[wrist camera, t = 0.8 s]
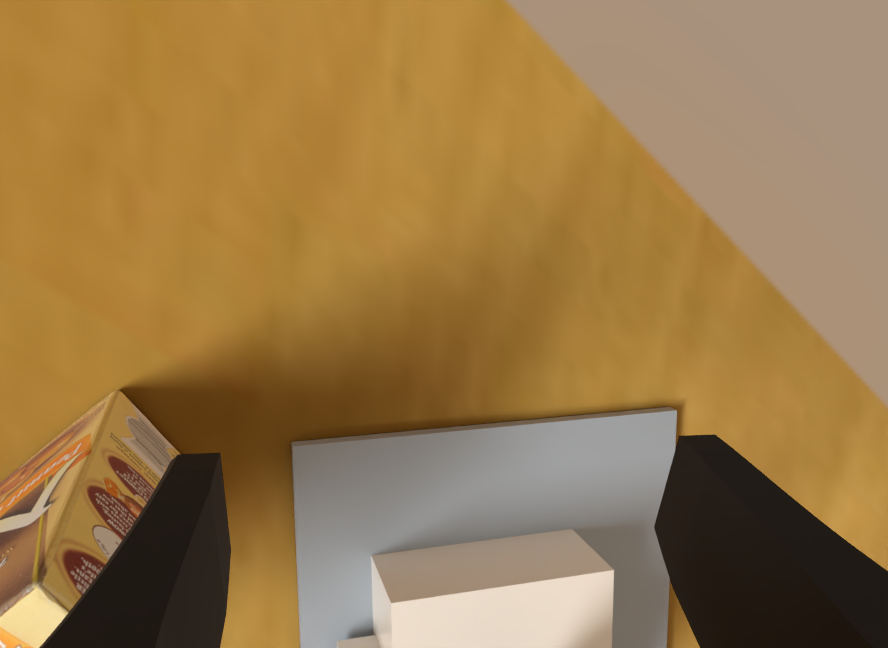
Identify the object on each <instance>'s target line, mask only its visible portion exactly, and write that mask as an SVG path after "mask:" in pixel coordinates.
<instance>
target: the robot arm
mask: <svg viewBox="0 0 888 648" xmlns="http://www.w3.org/2000/svg"><path fill="white" fill-rule="evenodd" d="M654 529H655V532H656V536H657V539H658V542H659V546H660V549H661V553H662V556H663V559H664V562H665V565H666V569H667V572H668V575H669V578H670V581H671V584H672V586H673V589H674V591H675V593H676V596H677V598H678V600H679V602H680V604H681V607H682V609H683V611H684V613H685V615H686V618H687V620H688V622H689V624H690V627H691V629H692V631H693V633H694V635H695V637H696V640H697V642H698V644H699V646H700V648H888V571H887V570H885V569H884V568H882V567H881V566H880V565H878V564H877V563H876V562H874V561H873V560H872V559H870V558H869V557H867V556H866V555H865V554H863V553H862V552H861V551H859V550H858V549H856V548H855V547H854V546H852V545H851V544H850V543H848V542H847V541H846V540H844V539H843V538H842V537H841V536H839V535H838V534H837V533H835V532H834V531H833V530H831V529H830V528H829V527H828V526H826V525H825V524H824V523H823V522H821V521H820V520H819V519H818V518H816V517H815V516H814V515H813V514H811V513H810V512H809V511H808V510H806V509H805V508H804V507H803V506H801V505H800V504H799V503H798V502H797V501H795V500H794V499H793V498H792V497H790V496H789V495H788V494H787V493H786V492H784V491H783V490H782V489H781V488H780V487H778V486H777V485H776V484H775V483H774V482H772V481H771V480H770V479H769V478H768V477H766V476H765V475H764V474H763V473H762V472H760V471H759V470H758V469H757V468H756V467H754V466H753V465H752V464H751V463H750V462H748V461H747V460H746V459H745V458H744V457H742V456H741V455H740V454H739V453H738V452H736V451H735V450H734V449H733V448H731V447H730V446H729V445H728V444H727V443H725V442H724V441H723V440H721V439H720V438H719V437H717V436H716V435H692V436H679V439H678V442H677V446H676V449H675V453H674V457H673V460H672V464H671V467H670V471H669V475H668V478H667V482H666V485H665V489H664V493H663V496H662V500H661V503H660V507H659V511H658V514H657V518H656V522H655V525H654ZM230 555H231V546H230V537H229V528H228V519H227V510H226V501H225V492H224V483H223V474H222V465H221V456H220V453H204V454H178V455H177V456H176V457H175V458H173V459H172V460H171V462H170V463H169V465H168V467H167V469H166V471H165V473H164V475H163V476H162V478H161V480H160V482H159V483H158V485H157V487H156V488H155V490H154V492H153V493H152V495H151V497H150V498H149V500H148V502H147V503H146V505H145V506H144V508H143V510H142V511H141V513H140V514H139V516H138V517H137V519H136V521H135V522H134V524H133V525H132V527H131V528H130V530H129V531H128V533H127V534H126V535H125V537H124V538H123V540H122V541H121V543H120V544H119V546H118V547H117V549H116V550H115V551H114V553H113V554H112V556H111V557H110V559H109V560H108V562H107V563H106V564H105V566H104V567H103V569H102V570H101V571H100V573H99V574H98V575H97V577H96V578H95V579H94V580H93V582H92V583H91V584H90V586H89V587H88V588H87V590H86V591H85V592H84V593H83V595H82V596H81V597H80V599H79V600H78V601H77V602H76V604H75V605H74V606H73V608H72V609H71V610H70V611H69V613H68V614H67V615H66V617H65V618H64V619H63V620H62V622H61V623H60V624H59V625H58V626H57V627H56V629H55V630H54V631H53V632H52V633H51V635H50V636H49V637H48V638H47V639H46V641H45V642H44V643H43V644H42V645H41V646H40V647H39V648H220V644H221V639H222V633H223V628H224V622H225V617H226V609H227V596H228V584H229V570H230Z"/></svg>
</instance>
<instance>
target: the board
mask: <svg viewBox="0 0 888 648" xmlns="http://www.w3.org/2000/svg"><path fill="white" fill-rule="evenodd" d="M676 422H677V410H675V409H673V408H671V407H662V408H651V409H640V410H630V411H619V412H608V413H597V414H587V415H576V416H565V417H554V418H543V419H533V420H522V421H511V422H500V423H490V424H479V425H468V426H457V427H447V428H436V429H425V430H414V431H403V432H393V433H382V434H371V435H360V436H350V437H339V438H328V439H317V440H306V441H296V442H291V447H292V470H293V493H294V515H295V538H296V561H297V584H298V607H299V629H300V648H337V641H341V640H347V639H353V638H360V637H366V636H372V635H373V607H372V569H371V555H378V554H386V553H393V552H401V551H409V550H416V549H424V548H431V547H439V546H446V545H454V544H461V543H469V542H477V541H484V540H492V539H499V538H507V537H514V536H522V535H529V534H537V533H545V532H552V531H560V530H567V529H573V530H574V531H575V532H576V533H577V534H578V535H579V536H580V537H581V538H582V539H583V540H584V541H585V542H586V543H587V544H588V545H589V546H590V547H591V548H592V549H593V550H594V551H595V552H596V553H597V554H598V555H599V556H600V557H601V558H602V559H603V560H604V561H605V562H606V563H607V564H608V565H609V566H610V567H611V568H612V569H613V570H614V589H613V621H612V648H667V628H668V606H669V583H670V578H669V575H668V572H667V569H666V565H665V562H664V559H663V556H662V553H661V549H660V546H659V542H658V539H657V536H656V532H655V529H654V525H655V522H656V518H657V514H658V511H659V507H660V503H661V500H662V496H663V493H664V489H665V485H666V482H667V478H668V475H669V471H670V467H671V464H672V460H673V457H674V453H675V445H676Z"/></svg>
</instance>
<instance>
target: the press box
mask: <svg viewBox="0 0 888 648" xmlns="http://www.w3.org/2000/svg"><path fill="white" fill-rule="evenodd" d="M371 569H372V607H373V635H372V636H366V637H360V638H353V639H347V640H341V641H337V648H612V621H613V589H614V570H613V569H612V568H611V567H610V566H609V565H608V564H607V563H606V562H605V561H604V560H603V559H602V558H601V557H600V556H599V555H598V554H597V553H596V552H595V551H594V550H593V549H592V548H591V547H590V546H589V545H588V544H587V543H586V542H585V541H584V540H583V539H582V538H581V537H580V536H579V535H578V534H577V533H576V532H575V531H574V530H573V529H567V530H560V531H552V532H545V533H537V534H529V535H522V536H514V537H507V538H499V539H492V540H484V541H477V542H469V543H461V544H454V545H446V546H439V547H431V548H424V549H416V550H409V551H401V552H393V553H386V554H378V555H371Z"/></svg>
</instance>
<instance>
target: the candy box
mask: <svg viewBox="0 0 888 648" xmlns="http://www.w3.org/2000/svg"><path fill="white" fill-rule="evenodd" d="M178 454H180V453H179V452H178V451H177V450H176V449H175V448H174V447H173V446H172V445H171V444H170V443H169V442H168V441H167V440H166V439H165V438H164V437H163V435H162V434H161V433H160V432H159V431H158V430H157V429H156V428H155V427H154V426H153V424H152V423H151V422H150V421H149V420H148V419H147V418H146V417H145V416H144V415H143V414H142V413H141V412H140V411H139V410H138V409H137V408H136V406H135V405H134V404H133V403H132V402H131V401H130V400H129V399H128V398H127V397H126V396H125V395H124V394H123V393H122V392H120V391H114V392H112V393H111V394H110V395H108V396H107V397H106V398H105V399H103V400H102V401H101V402H99V403H98V404H97V405H95V406H94V407H93V408H92V409H90V410H89V411H88V412H86V413H85V414H84V415H83V416H81V417H80V418H79V419H78V420H76V421H75V422H74V423H73V424H71V425H70V426H69V427H68V428H66V429H65V430H64V431H63V432H62V433H60V434H59V435H58V436H57V437H55V438H54V439H53V440H52V441H51V442H49V443H48V444H47V445H46V446H44V447H43V448H42V449H41V450H39V451H38V452H37V453H36V454H35V455H33V456H32V457H31V458H30V459H28V460H27V461H26V462H25V463H24V464H23V465H21V466H20V467H19V468H18V469H17V470H15V471H14V472H13V473H12V474H10V475H9V476H8V477H7V478H5V479H4V480H3V481H2V482H1V483H0V648H39V647H40V646H41V645H42V644H43V643H44V642H45V641H46V639H47V638H48V637H49V636H50V635H51V633H52V632H53V631H54V630H55V629H56V627H57V626H58V625H59V624H60V623H61V622H62V620H63V619H64V618H65V617H66V615H67V614H68V613H69V611H70V610H71V609H72V608H73V606H74V605H75V604H76V602H77V601H78V600H79V599H80V597H81V596H82V595H83V593H84V592H85V591H86V590H87V588H88V587H89V586H90V584H91V583H92V582H93V580H94V579H95V578H96V577H97V575H98V574H99V573H100V571H101V570H102V569H103V567H104V566H105V564H106V563H107V562H108V560H109V559H110V557H111V556H112V554H113V553H114V551H115V550H116V549H117V547H118V546H119V544H120V543H121V541H122V540H123V538H124V537H125V535H126V534H127V533H128V531H129V530H130V528H131V527H132V525H133V524H134V522H135V521H136V519H137V517H138V516H139V514H140V513H141V511H142V510H143V508H144V506H145V505H146V503H147V502H148V500H149V498H150V497H151V495H152V493H153V492H154V490H155V488H156V487H157V485H158V483H159V482H160V480H161V478H162V476H163V475H164V473H165V471H166V469H167V467H168V465H169V463H170V462H171V460H172V459H173V458H175V457H176V456H177V455H178Z"/></svg>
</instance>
